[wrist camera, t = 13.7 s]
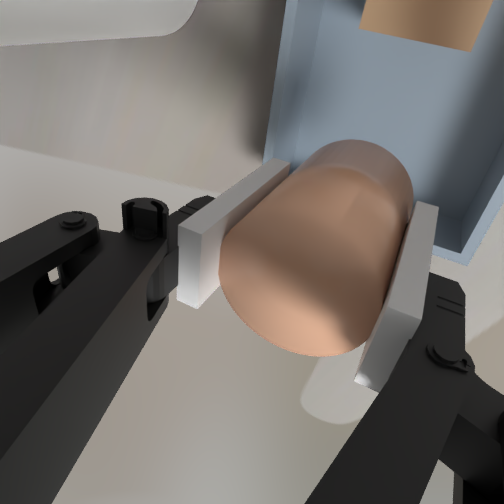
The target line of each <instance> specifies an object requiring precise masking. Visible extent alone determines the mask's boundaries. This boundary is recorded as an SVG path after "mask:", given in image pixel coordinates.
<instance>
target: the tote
mask: <svg viewBox="0 0 504 504" xmlns="http://www.w3.org/2000/svg"><path fill="white" fill-rule="evenodd" d="M365 3H366V0H287V1H286V8H285V14H284V21H283V28H282V35H281V42H280V48H279V55H278V62H277V69H276V75H275V82H274V89H273V96H272V103H271V109H270V116H269V123H268V130H267V137H266V143H265V150H264V157H263V164H262V165H264V164H265V163H266V162H268V161H269V160H271V159H272V158H276V159H280V160H283V161H286V162H290V168H289V174H288V176H289V175H290V174H291V173H292V172H293V171H295V170H296V169H297V168H298V167H299V166H300V165H301V164H302V163H303V162H304V161H305V160H306V159H307V158H309V157H310V156H311V155H312V154H313V153H314V152H315V151H317V150H318V149H320V148H321V147H323V146H325V145H327V144H329V143H332V142H335V141H340V140H348V139H355V140H363V141H368V142H371V143H374V144H377V145H379V146H381V147H383V148H385V149H386V150H388V151H389V152H391V153H392V154H393V155H394V156H395V157H396V158H397V159H398V160H399V161H400V162H401V163H402V165H403V166H404V167H405V169H406V171H407V172H408V175H409V177H410V179H411V183H412V187H413V194H414V199H413V207H412V212H413V209H414V207H415V204H416V202H417V201H420V202H424V203H427V204H430V205H434V206H437V207H439V210H438V217H437V223H436V230H435V236H434V243H433V250H432V254H433V255H436V256H439V257H442V258H444V259H447V260H450V261H453V262H456V263H459V264H462V265H465V266H468V264H469V262H470V260H471V259H472V257H473V255H474V253H475V252H476V250H477V248H478V246H479V245H480V243H481V241H482V239H483V238H484V236H485V234H486V232H487V231H488V229H489V227H490V225H491V224H492V222H493V220H494V218H495V217H496V215H497V213H498V211H499V210H500V208H501V206H502V204H503V203H504V0H493V2H492V5H491V7H490V9H489V12H488V14H487V16H486V18H485V21H484V23H483V25H482V28H481V30H480V32H479V34H478V37H477V39H476V41H475V43H474V46H473V48H472V50H471V52H466V51H462V50H457V49H452V48H447V47H443V46H438V45H433V44H428V43H424V42H419V41H414V40H410V39H405V38H400V37H395V36H391V35H386V34H381V33H376V32H372V31H367V30H362V29H359V25H360V21H361V18H362V14H363V10H364V7H365ZM412 212H411V214H412ZM410 216H411V215H410Z"/></svg>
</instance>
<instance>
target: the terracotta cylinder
mask: <svg viewBox="0 0 504 504" xmlns="http://www.w3.org/2000/svg"><path fill="white" fill-rule="evenodd" d="M413 199H414V194H413V187H412V183H411V179H410V177H409V175H408V172H407V171H406V169H405V167H404V166H403V165H402V163H401V162H400V161H399V160H398V159H397V158H396V157H395V156H394V155H393V154H392V153H391V152H389V151H388V150H386V149H385V148H383V147H381V146H379V145H377V144H374V143H371V142H368V141H363V140H355V139H348V140H340V141H335V142H332V143H329V144H327V145H325V146H323V147H321V148H320V149H318V150H317V151H315V152H314V153H313V154H312V155H311V156H310V157H309V158H307V159H306V160H305V161H304V162H303V163H302V164H301V165H300V166H299V167H298V168H297V169H296V170H295V171H293V172H292V173H291V174H290V175H289V176H288V177H287V178H286V179H285V180H284V181H283V182H282V183H280V184H279V185H278V186H277V187H276V188H275V189H274V190H273V191H272V192H271V193H270V194H269V195H267V196H266V197H265V198H264V199H263V200H262V201H261V202H260V203H259V204H258V205H257V206H256V207H254V208H253V209H252V210H251V211H250V212H249V213H248V214H247V215H246V216H245V217H244V218H243V219H241V220H240V221H239V222H238V223H237V224H236V225H235V226H234V227H233V228H232V229H231V230H230V231H229V232H228V234H227V235H226V236H225V238H224V240H223V242H222V244H221V247H220V258H219V270H218V276H219V280H220V284H221V287H222V290H223V292H224V294H225V296H226V299H227V300H228V302H229V304H230V305H231V307H232V308H233V310H234V311H235V313H236V314H237V315H238V316H239V317H240V319H241V320H242V321H243V322H244V323H245V324H246V325H247V326H248V327H249V328H251V329H252V330H253V331H254V332H256V333H257V334H258V335H259V336H261V337H262V338H264V339H265V340H267V341H269V342H271V343H272V344H274V345H276V346H278V347H281V348H283V349H285V350H288V351H291V352H294V353H298V354H303V355H309V356H324V357H325V356H334V355H339V354H343V353H346V352H349V351H351V350H353V349H355V348H357V347H359V346H360V345H361V344H363V343H364V342H365V341H366V340H367V339H368V338H369V337H370V335H371V333H372V330H373V328H374V326H375V324H376V322H377V319H378V317H379V315H380V313H381V310H382V307H383V303H384V300H385V297H386V293H387V290H388V287H389V283H390V280H391V277H392V274H393V270H394V267H395V264H396V260H397V257H398V254H399V250H400V247H401V244H402V240H403V237H404V234H405V230H406V227H407V224H408V221H409V219H410V215H411V212H412V207H413Z"/></svg>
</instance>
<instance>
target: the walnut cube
mask: <svg viewBox="0 0 504 504" xmlns="http://www.w3.org/2000/svg"><path fill="white" fill-rule="evenodd" d="M492 2H493V0H366V3H365V7H364V10H363V14H362V18H361V21H360V25H359V29H362V30H367V31H372V32H376V33H381V34H386V35H391V36H395V37H400V38H405V39H410V40H414V41H419V42H424V43H428V44H433V45H438V46H443V47H447V48H452V49H457V50H462V51H466V52H471V50H472V48H473V46H474V43H475V41H476V39H477V37H478V34H479V32H480V30H481V28H482V25H483V23H484V21H485V18H486V16H487V14H488V12H489V9H490V7H491V5H492Z"/></svg>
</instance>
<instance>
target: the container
mask: <svg viewBox="0 0 504 504" xmlns="http://www.w3.org/2000/svg"><path fill="white" fill-rule="evenodd" d="M197 2H198V0H0V46H14V45H29V44H45V43H60V42H76V41H92V40H107V39H123V38H139V37H154V36H166V35H169V34H171V33H174V32H176V31H177V30H179V29H180V28H181V27H182V26H183V25H184V24H185V23H186V22H187V21H188V19H189V18H190V16H191V15H192V13H193V11H194V9H195V7H196V4H197Z"/></svg>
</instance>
